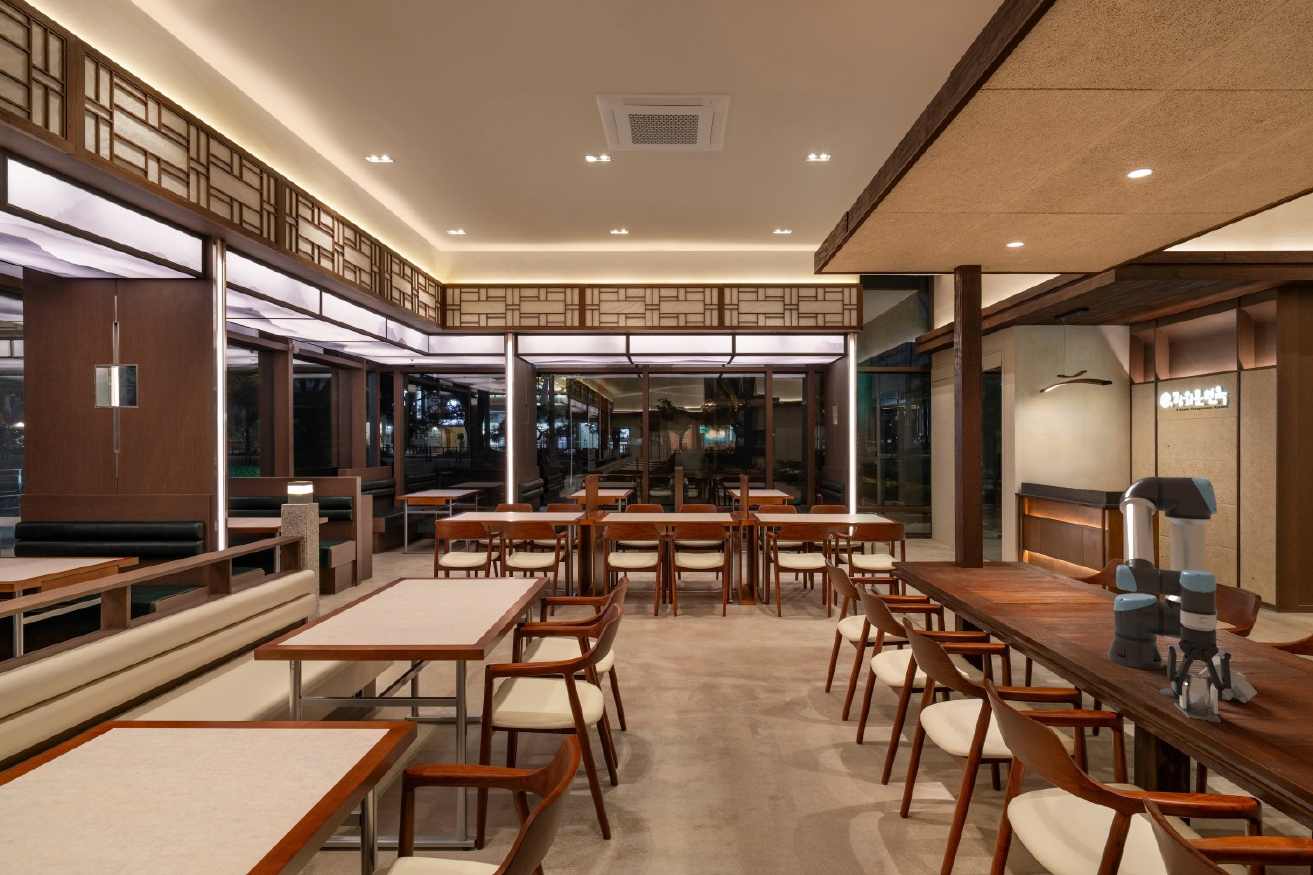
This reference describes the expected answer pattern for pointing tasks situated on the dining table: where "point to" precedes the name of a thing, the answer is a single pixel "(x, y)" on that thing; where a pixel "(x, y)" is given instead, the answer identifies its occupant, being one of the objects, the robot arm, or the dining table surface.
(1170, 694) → the grey round disc
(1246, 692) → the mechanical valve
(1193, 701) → the elbow fitting
